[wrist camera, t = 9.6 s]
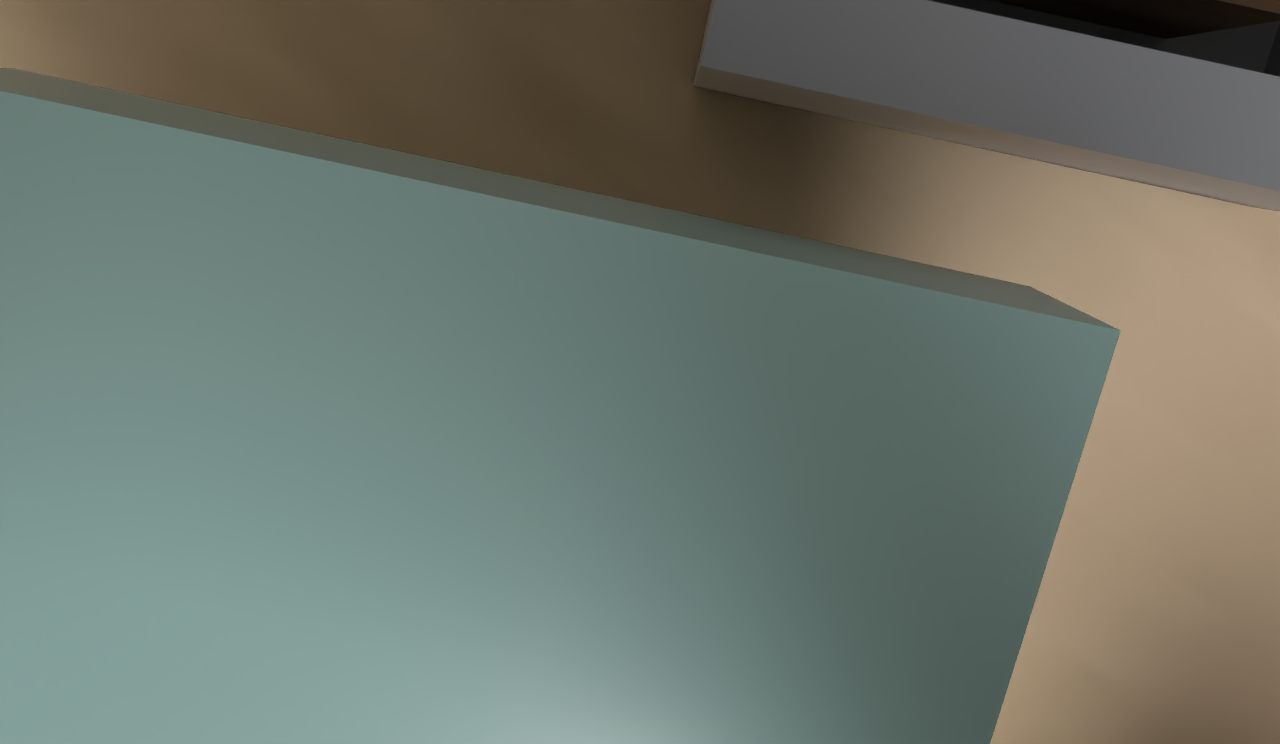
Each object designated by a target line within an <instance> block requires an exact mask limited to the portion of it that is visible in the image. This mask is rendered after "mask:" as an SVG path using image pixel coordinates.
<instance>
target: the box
mask: <svg viewBox="0 0 1280 744" xmlns="http://www.w3.org/2000/svg"><path fill="white" fill-rule="evenodd" d="M693 86H695V87H700V88H705V89H709V90H714V91H718V92H723V93H728V94H732V95H737V96H742V97H746V98H751V99H756V100H760V101H765V102H769V103H774V104H779V105H783V106H788V107H793V108H797V109H802V110H806V111H811V112H816V113H820V114H825V115H830V116H834V117H839V118H844V119H848V120H853V121H857V122H862V123H867V124H871V125H876V126H881V127H885V128H890V129H894V130H899V131H904V132H908V133H913V134H918V135H922V136H927V137H931V138H936V139H941V140H945V141H950V142H955V143H959V144H964V145H969V146H973V147H978V148H982V149H987V150H992V151H996V152H1001V153H1006V154H1010V155H1015V156H1019V157H1024V158H1029V159H1033V160H1038V161H1043V162H1047V163H1052V164H1056V165H1061V166H1066V167H1070V168H1075V169H1080V170H1084V171H1089V172H1094V173H1098V174H1103V175H1107V176H1112V177H1117V178H1121V179H1126V180H1131V181H1135V182H1140V183H1144V184H1149V185H1154V186H1158V187H1163V188H1168V189H1172V190H1177V191H1181V192H1186V193H1191V194H1195V195H1200V196H1205V197H1209V198H1214V199H1219V200H1223V201H1228V202H1232V203H1237V204H1242V205H1246V206H1251V207H1256V208H1263V209H1269V210H1275V211H1280V21H1275V22H1268V23H1262V24H1256V25H1250V26H1243V27H1237V28H1231V29H1225V30H1219V31H1212V32H1206V33H1200V34H1194V35H1188V36H1181V37H1175V38H1169V39H1164V38H1159V37H1154V36H1150V35H1145V34H1141V33H1136V32H1131V31H1127V30H1122V29H1118V28H1113V27H1108V26H1104V25H1099V24H1095V23H1090V22H1085V21H1081V20H1076V19H1072V18H1067V17H1063V16H1058V15H1053V14H1049V13H1044V12H1040V11H1035V10H1030V9H1026V8H1021V7H1017V6H1012V5H1007V4H1003V3H998V2H994V1H989V0H711V5H710V9H709V14H708V19H707V23H706V28H705V33H704V38H703V42H702V47H701V52H700V56H699V61H698V66H697V70H696V75H695V80H694V84H693Z"/></svg>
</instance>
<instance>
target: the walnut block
mask: <svg viewBox="0 0 1280 744" xmlns="http://www.w3.org/2000/svg"><path fill="white" fill-rule="evenodd" d="M989 1H994V2H998V3H1003V4H1007V5H1012V6H1017V7H1021V8H1026V9H1030V10H1035V11H1040V12H1044V13H1049V14H1053V15H1058V16H1063V17H1067V18H1072V19H1076V20H1081V21H1085V22H1090V23H1095V24H1099V25H1104V26H1108V27H1113V28H1118V29H1122V30H1127V31H1131V32H1136V33H1141V34H1145V35H1150V36H1154V37H1159V38H1164V39H1169V38H1175V37H1181V36H1188V35H1194V34H1200V33H1206V32H1212V31H1219V30H1225V29H1231V28H1237V27H1243V26H1250V25H1256V24H1262V23H1268V22H1275V21H1280V0H989Z"/></svg>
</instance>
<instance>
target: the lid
mask: <svg viewBox="0 0 1280 744" xmlns="http://www.w3.org/2000/svg"><path fill="white" fill-rule="evenodd" d="M1119 334H1120V330H1118V329H1116V328H1114V327H1112V326H1110V325H1108V324H1106V323H1104V322H1102V321H1100V320H1098V319H1096V318H1094V317H1092V316H1090V315H1087V314H1085V313H1083V312H1081V311H1079V310H1077V309H1075V308H1073V307H1071V306H1069V305H1067V304H1065V303H1063V302H1061V301H1059V300H1056V299H1054V298H1052V297H1050V296H1048V295H1046V294H1044V293H1042V292H1040V291H1038V290H1036V289H1034V288H1032V287H1030V286H1025V285H1021V284H1016V283H1011V282H1007V281H1002V280H997V279H993V278H988V277H983V276H979V275H974V274H969V273H965V272H960V271H955V270H951V269H946V268H941V267H937V266H932V265H927V264H923V263H918V262H913V261H909V260H904V259H899V258H895V257H890V256H885V255H881V254H876V253H871V252H867V251H862V250H857V249H853V248H848V247H843V246H839V245H834V244H829V243H825V242H820V241H815V240H811V239H806V238H801V237H797V236H792V235H787V234H783V233H778V232H773V231H769V230H764V229H759V228H755V227H750V226H745V225H741V224H736V223H731V222H727V221H722V220H717V219H713V218H708V217H703V216H699V215H694V214H689V213H685V212H680V211H675V210H671V209H666V208H661V207H657V206H652V205H647V204H643V203H638V202H633V201H629V200H624V199H619V198H615V197H610V196H605V195H601V194H596V193H591V192H587V191H582V190H578V189H573V188H568V187H564V186H559V185H554V184H550V183H545V182H540V181H536V180H531V179H526V178H522V177H517V176H512V175H508V174H503V173H498V172H494V171H489V170H484V169H480V168H475V167H470V166H466V165H461V164H456V163H452V162H447V161H442V160H438V159H433V158H428V157H424V156H419V155H414V154H410V153H405V152H400V151H396V150H391V149H386V148H382V147H377V146H372V145H368V144H363V143H358V142H354V141H349V140H344V139H340V138H335V137H330V136H326V135H321V134H316V133H312V132H307V131H302V130H298V129H293V128H288V127H284V126H279V125H274V124H270V123H265V122H260V121H256V120H251V119H246V118H242V117H237V116H232V115H228V114H223V113H218V112H214V111H209V110H204V109H200V108H195V107H190V106H186V105H181V104H176V103H172V102H167V101H162V100H158V99H153V98H148V97H144V96H139V95H134V94H130V93H125V92H120V91H116V90H111V89H106V88H102V87H97V86H92V85H88V84H83V83H78V82H74V81H69V80H64V79H60V78H55V77H50V76H46V75H41V74H36V73H32V72H27V71H23V70H18V69H11V68H0V744H990V742H991V738H992V735H993V732H994V729H995V726H996V723H997V719H998V716H999V713H1000V710H1001V707H1002V704H1003V700H1004V697H1005V694H1006V691H1007V688H1008V685H1009V681H1010V678H1011V675H1012V672H1013V669H1014V666H1015V662H1016V659H1017V656H1018V653H1019V650H1020V647H1021V644H1022V640H1023V637H1024V634H1025V631H1026V628H1027V625H1028V621H1029V618H1030V615H1031V612H1032V609H1033V606H1034V602H1035V599H1036V596H1037V593H1038V590H1039V587H1040V583H1041V580H1042V577H1043V574H1044V571H1045V568H1046V565H1047V561H1048V558H1049V555H1050V552H1051V549H1052V546H1053V542H1054V539H1055V536H1056V533H1057V530H1058V527H1059V523H1060V520H1061V517H1062V514H1063V511H1064V508H1065V504H1066V501H1067V498H1068V495H1069V492H1070V489H1071V485H1072V482H1073V479H1074V476H1075V473H1076V470H1077V467H1078V463H1079V460H1080V457H1081V454H1082V451H1083V448H1084V444H1085V441H1086V438H1087V435H1088V432H1089V429H1090V425H1091V422H1092V419H1093V416H1094V413H1095V410H1096V406H1097V403H1098V400H1099V397H1100V394H1101V391H1102V388H1103V384H1104V381H1105V378H1106V375H1107V372H1108V369H1109V365H1110V362H1111V359H1112V356H1113V353H1114V350H1115V346H1116V343H1117V340H1118V337H1119Z"/></svg>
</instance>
